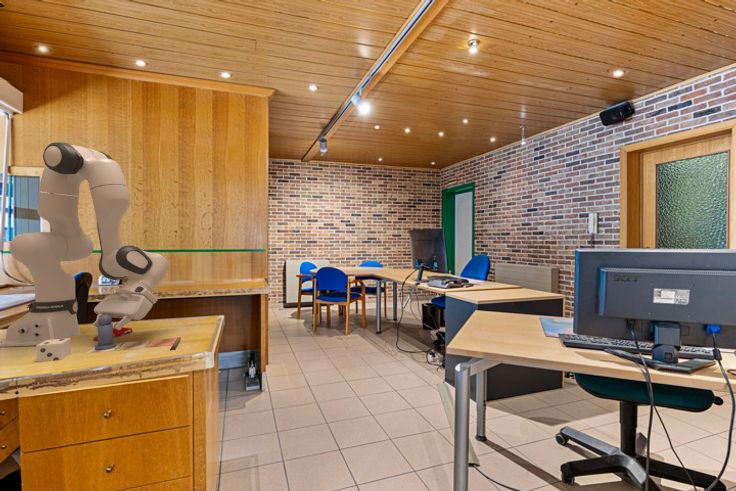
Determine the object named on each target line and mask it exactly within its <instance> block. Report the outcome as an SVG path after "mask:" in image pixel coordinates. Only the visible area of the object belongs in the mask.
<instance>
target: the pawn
mask: <svg viewBox="0 0 736 491" xmlns="http://www.w3.org/2000/svg"><path fill="white" fill-rule="evenodd" d="M112 318H113V317H110V316H109V315H103V316H101V317H100V318H99V320H98V323H99V324H100V325H97V326H98V327H97V336H98V341H97V344H95V345H94V347H95V350H107V349H111V348H114V347H116V343H117V342H115V341H114V338H113V326H114V324H113V322H112V321H113V319H112Z"/></svg>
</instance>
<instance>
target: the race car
mask: <svg viewBox="0 0 736 491" xmlns="http://www.w3.org/2000/svg"><path fill="white" fill-rule="evenodd" d="M133 332H134V331H133V328H132V327H124V326H123V327H122V328H121V330H116V329H114V328H113V339H114V338H118V337H122V336H125V335H128V334H133ZM93 341H95V342H98V335H95V337H93Z"/></svg>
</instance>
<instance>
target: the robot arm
mask: <svg viewBox="0 0 736 491" xmlns="http://www.w3.org/2000/svg"><path fill="white" fill-rule="evenodd" d="M42 158H43V163H44V164H45V167H44V169H43V170H42V174H41V177H40V182H39V186H38V197H37V198H38V200H37V209H36V210H37V214H38V215H39V217H40V218H42V219H43V220H45V221H47V222H48V223H49V226H50V229H51V230H50V231H31V232H25V233H24V232H23V233H19V234H17V235H15V236H14V237H13V238H12V239H11V241H10V243H9V252H10V255H11V256H12V257H13V258H14V260H16V261H17V262H19V263H21V264H22V265H23V266H24V267H26V268H27V269H28V271H29V272H30V274H31V276H32V279H33V283H34V284H33V285H34V293H35V294H34V296H35V298H34V299H35V300H34V301H32V302H31V303H28V304H26V309H28V311H29V312H27V313H26V314H24V315H22V317H20V318H18V319H17V320H16V321H14V322H13V323H11V324H10V325H9V326H8V327H7V330H6V333H5V338H3V339H0V348H2V347H3V348H5V347H7V348H9V347H27V346H28V347H29V346H37V345H38V344H40V343H42V342H44V341H46V340H53V339H65V338H71V337H80V336H82V332H81V329H80V327H79V322H78V317H77V316H78V315H77V313H78V299H77V297H76V280H75V277H74V276H73V275H72V274H70V273H69V272H66V271H65V270H64V268H63V267H62V264H61V262H74V261H76V262H77V261H79V260H84V259H86V258H89V257H90V256H91V255H92V253H93V251H94V248H95V246H94V241H93V240H92V238H91V237H90V236H89V235H87V234H86V232H84V230H83V228H82V226H81V224H80V220H79V203H80V202H79V200H80V186H81V184H82V183H83V182H84V181H85V180H86V181H87V183H88V188H89V191H90V197H91V199H92V203H93V209H94V212H95V213H94V214H95V219H96V227H97V228H96V229H97V234H98V240H99V245H100V246H99V247H100V258H99V262H98V269H99V272H100V273H101V275H102V276H103V277H105V278H107V279H108V280H110V281H111V280H113V281H119V280H120V281H121V280H123V279H125V278H126V277H127V278H128V279H127V280H126V282H124V283H123V285H122V286H121V287H120V288H119V289H118V291H115V292H114V293H111V294H108V295H106V296H105V297H104V298H103V299H102V300H100V301H99V302H98V304H97V305H95V307H94V309H93V312H94V313H95V314H97V316H96V320H95V321H94V322H93V324H92V325H93V327H95V328H98V326H97V325H100V324H99V323H98V320H99V318H100V317H101V316H103V315H109V316H110V317H111V318H113V319H114V318H115V319H121V320H120V321H117V322H115V324H113V328H114V329H116V330H121V328H122V327H123V328H124V327H125V326H126V325H127V324H129V323H130V322H131V321H132V320H134V321H141V320H142V319H144V318H145V317H146V316H147V314H148V313H149V311H151V309H152V308H153V305H155V304H156V303H157V302H158V298H157V296H155V295H154V294H153V291H154V289H155V287H157V286H158V285H159V284H160V283H161V282H162V281H163V279H164V278H165V276H166V275H167V273H168V272H169V269H170V263H169V261H168V260H167V258H166V257H165V256H164V255H162V254H160V253H158V252H157V253H156V252H149V251H145V250H142V248H139V247H138V246H135V245H130V244H129V245H124V246H123V245H122V240H121V233H120V224H121V222H122V219H123V217H124V216H125V214H126V212H127V211H128V209H129V208H130V205H131V198H130V190H129V187H128V183H127V181H126V177H125V175H124V172H123V170H122V168H121V166H120V164H119V163H118V162H117V161H115V160H114V158H113V157H111V156H110V155H108V154H107V153H105V152H103V151H98V150H97V149H93V148H90V147H86V146H80V145H76V144H75V145H74V144H70V143H69V142H60V141H59V142H52V143H49V144H48V145H47V146H46V147H45V148H44V151H43V154H42Z"/></svg>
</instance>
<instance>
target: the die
mask: <svg viewBox="0 0 736 491" xmlns="http://www.w3.org/2000/svg"><path fill="white" fill-rule="evenodd" d="M35 346H36V363H38V362H51V361H59V360H60V361H61V360H64V359H65V358H67V357H68V356H69V355H71V354H72V338H71V337H67V338H62V339H53V340H46V341H44V342H42V343H40V344H38V345H35Z"/></svg>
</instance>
